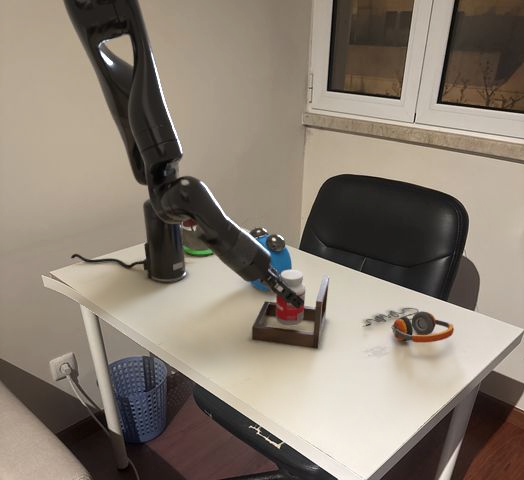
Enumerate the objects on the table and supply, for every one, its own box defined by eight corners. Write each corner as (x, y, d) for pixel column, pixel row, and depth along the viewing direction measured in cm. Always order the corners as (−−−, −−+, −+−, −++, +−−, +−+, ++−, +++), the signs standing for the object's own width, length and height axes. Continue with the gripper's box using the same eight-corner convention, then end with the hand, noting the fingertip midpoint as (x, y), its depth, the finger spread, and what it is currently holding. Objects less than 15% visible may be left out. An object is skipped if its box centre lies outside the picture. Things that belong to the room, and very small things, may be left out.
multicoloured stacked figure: (191, 239, 159) (188, 191, 150) (227, 245, 155) (225, 197, 146) (171, 252, 149) (166, 202, 141) (208, 259, 145) (206, 208, 137)
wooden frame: (252, 339, 109) (252, 293, 103) (264, 313, 119) (265, 269, 113) (317, 348, 107) (322, 301, 100) (325, 320, 117) (329, 276, 111)
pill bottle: (274, 313, 114) (275, 268, 108) (300, 312, 115) (304, 267, 108) (277, 327, 109) (279, 280, 103) (305, 326, 109) (308, 280, 103)
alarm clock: (291, 292, 129) (294, 236, 120) (273, 299, 125) (274, 242, 117) (259, 275, 137) (259, 221, 129) (241, 281, 134) (240, 226, 125)
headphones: (408, 296, 122) (474, 314, 105) (407, 316, 124) (473, 338, 107) (351, 311, 115) (412, 333, 98) (352, 332, 117) (412, 358, 100)
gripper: (218, 254, 105) (269, 296, 115) (242, 283, 94) (296, 326, 104) (242, 227, 104) (292, 271, 114) (269, 252, 93) (321, 299, 103)
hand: (294, 297), depth 109 cm, fingers closed on pill bottle, 6 cm apart
